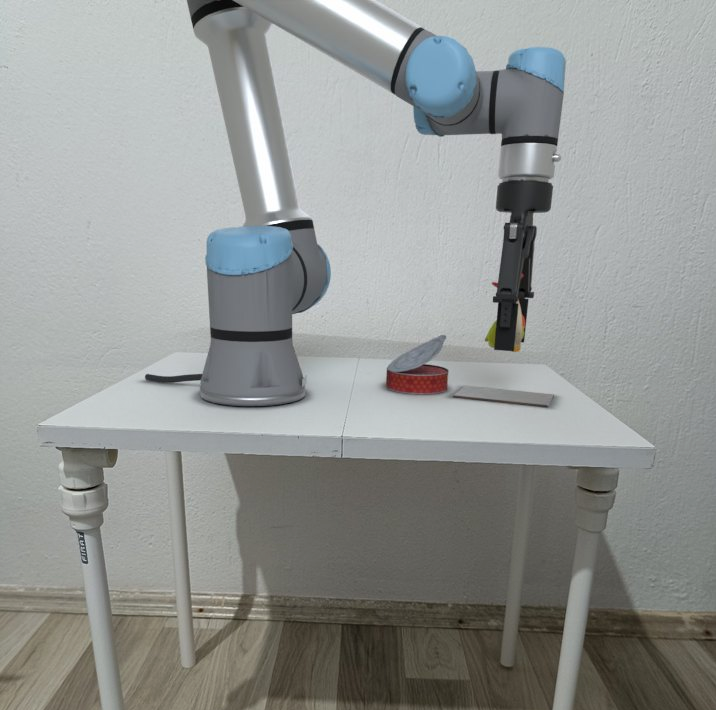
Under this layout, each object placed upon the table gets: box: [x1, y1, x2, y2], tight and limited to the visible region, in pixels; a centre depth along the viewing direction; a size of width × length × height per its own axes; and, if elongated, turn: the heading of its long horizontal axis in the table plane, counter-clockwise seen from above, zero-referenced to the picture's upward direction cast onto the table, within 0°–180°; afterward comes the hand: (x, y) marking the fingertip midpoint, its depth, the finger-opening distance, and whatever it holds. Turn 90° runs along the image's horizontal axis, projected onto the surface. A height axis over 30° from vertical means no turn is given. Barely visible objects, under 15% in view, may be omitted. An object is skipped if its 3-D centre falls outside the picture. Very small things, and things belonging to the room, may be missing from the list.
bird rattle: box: [484, 273, 525, 353], centre depth 97 cm, size 6×11×9 cm
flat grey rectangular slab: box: [452, 385, 555, 408], centre depth 101 cm, size 14×8×1 cm, turn 68°
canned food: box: [385, 334, 450, 395], centre depth 105 cm, size 11×10×10 cm
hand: (509, 345), depth 99 cm, fingers closed on bird rattle, 9 cm apart
